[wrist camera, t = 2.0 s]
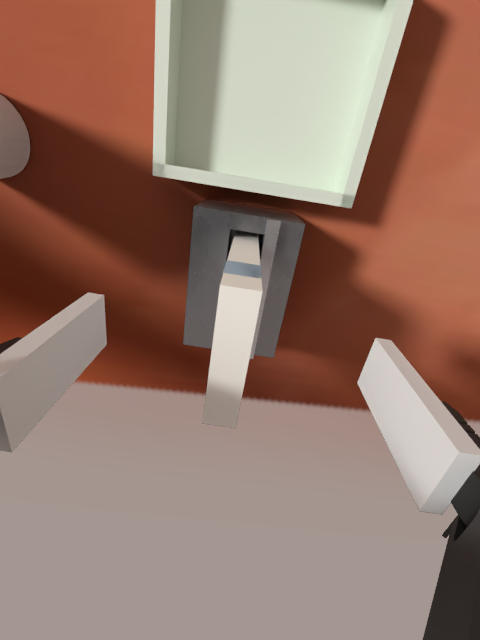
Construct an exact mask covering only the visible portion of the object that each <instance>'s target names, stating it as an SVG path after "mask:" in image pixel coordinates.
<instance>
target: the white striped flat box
mask: <svg viewBox="0 0 480 640" xmlns="http://www.w3.org/2000/svg"><path fill="white" fill-rule="evenodd" d="M262 292H263V290H262V273H261V265H260V254H259V242H258V233H252V232H246V231H239V230H236V232H235V235H234V239H233V242H232V245H231V249H230V252H229V256H228V259H227V261H226V264H225V268H224V271H223V276H222V280H221V283H220V288H219V296H218V304H217V312H216V320H215V328H214V336H213V343H212V351H211V359H210V367H209V375H208V383H207V391H206V398H205V406H204V415H203V424H208V425H215V426H223V427H230V428H236V424H237V419H238V414H239V409H240V404H241V399H242V394H243V389H244V384H245V379H246V374H247V369H248V363H249V358H250V353H251V348H252V343H253V338H254V333H255V328H256V323H257V318H258V313H259V307H260V302H261V297H262Z"/></svg>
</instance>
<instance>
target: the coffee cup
mask: <svg viewBox="0 0 480 640" xmlns="http://www.w3.org/2000/svg"><path fill="white" fill-rule="evenodd" d="M29 156H30V139H29V134H28V130H27V128H26V125H25V123H24V121H23V119H22V117H21V116H20V114H19V113H18V111H17V110H16V109H15V107H14V106H13V105H12V104H11V103H10V102H9V101H8V100H7V99H6V98H5V97H4V96H2V95H1V94H0V179H1V178H7V177H12V176H14V175H17V174H18V173H20V172H21V171H22V170H23V169H24V167H25V166H26V164H27V162H28V159H29Z"/></svg>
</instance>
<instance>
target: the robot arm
mask: <svg viewBox="0 0 480 640" xmlns="http://www.w3.org/2000/svg"><path fill="white" fill-rule="evenodd" d="M106 345H107V338H106V320H105V302H104V295H101V294H95V293H89V292H88V293H86V294H85V295H84V296H82V297H81V298H79V299H78V300H76V301H75V302H74V303H72V304H71V305H69V306H68V307H66V308H65V309H64V310H62V311H61V312H59V313H58V314H56V315H55V316H54V317H52V318H51V319H49V320H48V321H46V322H45V323H44V324H42V325H41V326H39V327H38V328H36V329H35V330H34V331H32V332H31V333H29V334H28V335H27V336H25V337H24V338H19V337H17V338H15V339H12V340H9V341H7V342H4V343H2V344H0V451H7V452H13V451H14V450H15V448H16V447H17V446H18V445H19V444H20V443H21V442H22V441H23V439H24V438H25V437H26V436H27V435H28V434H29V432H30V431H31V430H32V429H33V428H34V427H35V426H36V425H37V423H38V422H39V421H40V420H41V419H42V418H43V416H44V415H45V414H46V413H47V412H48V411H49V410H50V409H51V407H52V406H53V405H54V404H55V403H56V402H57V401H58V399H59V398H60V397H61V396H62V395H63V394H64V393H65V392H66V390H67V389H68V388H69V387H70V386H71V385H72V384H73V382H74V381H75V380H76V379H77V378H78V377H79V376H80V374H81V373H82V372H83V371H84V370H85V369H86V368H87V367H88V365H89V364H90V363H91V362H92V361H93V360H94V359H95V357H96V356H97V355H98V354H99V353H100V352H101V351H102V349H103V348H104V347H105V346H106ZM357 384H358V386H359V388H360V390H361V392H362V394H363V396H364V398H365V400H366V402H367V404H368V406H369V408H370V411H371V413H372V415H373V417H374V419H375V421H376V423H377V425H378V427H379V429H380V431H381V433H382V435H383V437H384V440H385V442H386V444H387V446H388V448H389V450H390V452H391V454H392V456H393V458H394V460H395V462H396V464H397V466H398V468H399V470H400V473H401V475H402V477H403V479H404V481H405V483H406V485H407V487H408V489H409V491H410V493H411V495H412V497H413V500H414V502H415V504H416V506H417V508H418V510H419V511H420V512H427V513H434V514H441V515H442V514H443V513H444V512H445V510H446V509H447V507H448V506H449V505H450V504H451V503H452V504H453V506H454V508H455V510H456V511H457V513H458V516H457V517H456V518H455V519H454V521H453V522H452V523H451V524H450V526H449V527H448V528H447V530H446V531H445V532H444V533H443V535H442V536H443V537H445V538H447V536H448V535H449V539H448V543H447V546H446V550H445V554H444V558H443V563H442V566H441V570H440V574H439V578H438V582H437V586H436V590H435V594H434V598H433V601H432V605H431V609H430V613H429V617H428V621H427V625H426V629H425V633H424V637H423V640H480V437H479V436H478V435H477V434H475V431H474V430H473V429H472V428H471V427H470V426H469V425H467V422H466V421H465V420H464V418H463V417H462V416H461V415H460V414H459V413H458V412H457V411H456V410H455V409H453V408H452V407H451V406H450V405H448V404H447V403H446V402H442V401H440V400H439V399H438V397H437V396H436V395H435V394H434V392H433V391H432V390H431V389H430V387H429V386H428V385H427V384H426V383H425V381H424V380H423V379H422V378H421V376H420V375H419V374H418V373H417V371H416V370H415V369H414V368H413V367H412V365H411V364H410V363H409V362H408V360H407V359H406V358H405V357H404V355H403V354H402V353H401V352H400V351H399V349H398V348H397V347H396V346H395V344H394V343H393V342H392V341H391V340H387V339H381V338H375V340H374V343H373V345H372V348H371V350H370V353H369V355H368V358H367V360H366V362H365V365H364V367H363V370H362V372H361V375H360V377H359V380H358V382H357Z"/></svg>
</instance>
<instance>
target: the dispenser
mask: <svg viewBox="0 0 480 640" xmlns="http://www.w3.org/2000/svg"><path fill="white" fill-rule="evenodd" d="M304 229H305V223H304V222H303V221H301V220H300V219H299V218H298V217H297V216H296V215H295V214H294V213H291V212H285V211H279V210H273V209H267V208H261V207H255V206H249V205H242V204H236V203H230V202H224V201H218V200H212V199H206V200H204V201H202V202H200V203H198V204H197V205H195V206H194V209H193V222H192V235H191V248H190V261H189V274H188V287H187V300H186V313H185V326H184V339H183V345H190V346H197V347H204V348H210V349H212V343H213V336H214V328H215V320H216V312H217V304H218V296H219V288H220V283H221V280H222V276H223V271H224V268H225V264H226V261H227V259H228V256H229V252H230V249H231V245H232V242H233V239H234V235H235V232H236V230H239V231H246V232H252V233H258V242H259V254H260V265H261V273H262V290H263V292H262V297H261V302H260V307H259V313H258V318H257V323H256V328H255V333H254V338H253V343H252V348H251V353H250V358H249V359H253V357H254V355H258V356H264V357H271V358H274V354H275V350H276V346H277V342H278V338H279V333H280V329H281V325H282V321H283V317H284V312H285V308H286V304H287V300H288V296H289V291H290V287H291V283H292V279H293V275H294V271H295V266H296V262H297V258H298V254H299V250H300V245H301V241H302V237H303V233H304Z"/></svg>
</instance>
